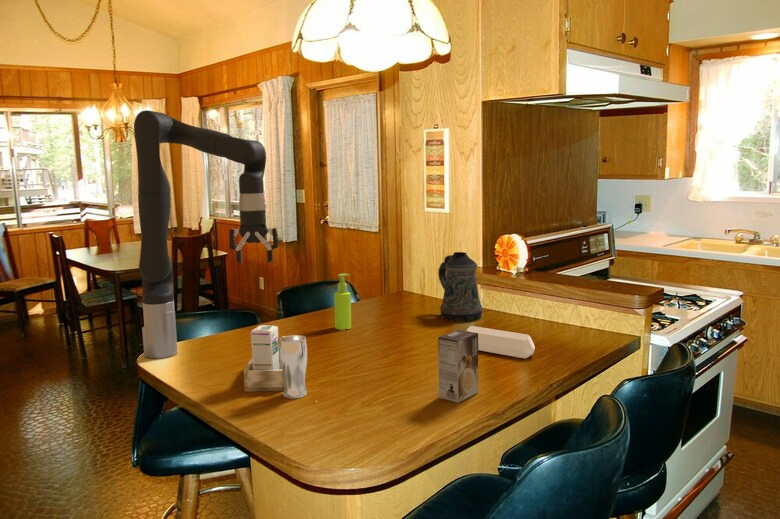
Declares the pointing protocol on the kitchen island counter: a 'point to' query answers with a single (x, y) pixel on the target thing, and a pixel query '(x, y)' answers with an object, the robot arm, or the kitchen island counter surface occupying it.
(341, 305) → the soap dispenser
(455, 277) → the beer stein
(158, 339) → the robot arm
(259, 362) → the syrup box
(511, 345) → the crystal
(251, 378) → the crate
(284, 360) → the beer glass
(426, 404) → the kitchen island counter surface
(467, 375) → the coffee box
